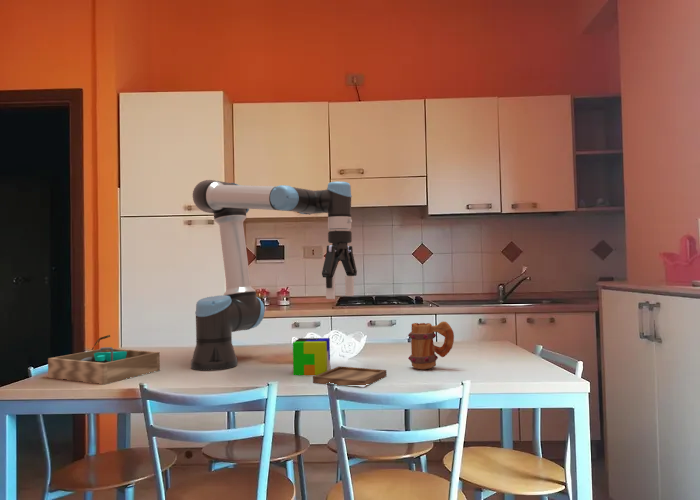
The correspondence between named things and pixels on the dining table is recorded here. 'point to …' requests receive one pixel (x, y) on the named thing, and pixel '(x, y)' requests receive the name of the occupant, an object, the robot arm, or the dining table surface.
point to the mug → (429, 344)
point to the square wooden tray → (349, 376)
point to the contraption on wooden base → (106, 354)
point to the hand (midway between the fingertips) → (340, 297)
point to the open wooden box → (103, 366)
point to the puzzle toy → (311, 356)
